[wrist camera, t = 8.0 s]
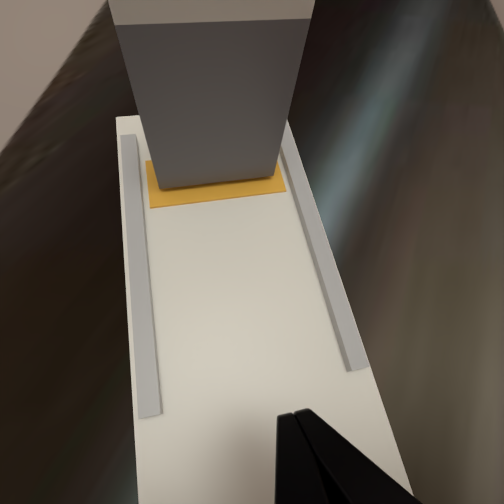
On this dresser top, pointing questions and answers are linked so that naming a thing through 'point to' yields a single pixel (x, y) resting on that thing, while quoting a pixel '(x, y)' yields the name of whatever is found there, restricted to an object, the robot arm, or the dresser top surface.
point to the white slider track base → (235, 330)
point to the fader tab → (212, 82)
